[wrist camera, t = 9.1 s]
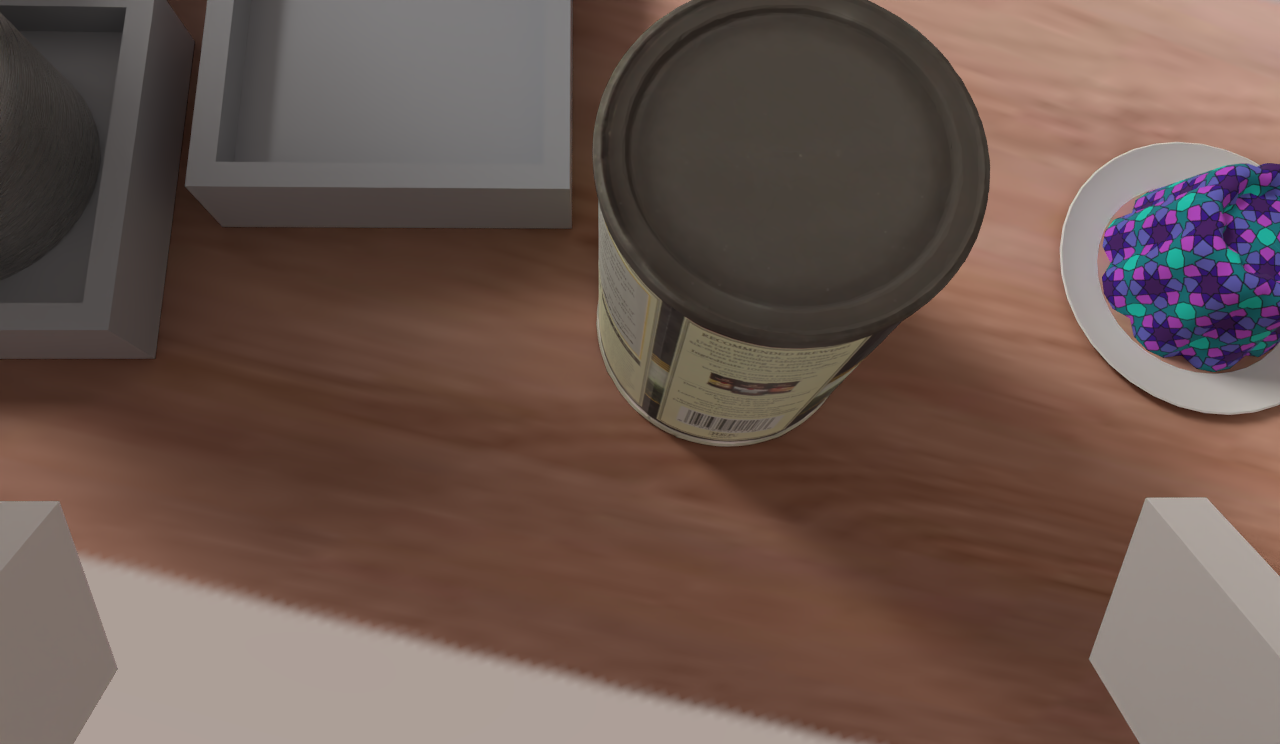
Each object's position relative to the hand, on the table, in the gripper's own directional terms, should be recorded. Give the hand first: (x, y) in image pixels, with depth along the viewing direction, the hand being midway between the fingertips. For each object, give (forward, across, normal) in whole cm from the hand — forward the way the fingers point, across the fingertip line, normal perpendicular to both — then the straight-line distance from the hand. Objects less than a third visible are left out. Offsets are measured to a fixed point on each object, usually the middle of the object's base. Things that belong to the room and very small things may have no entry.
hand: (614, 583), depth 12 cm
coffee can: (+25, +5, -8) cm, 27 cm away
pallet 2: (+32, -8, 0) cm, 33 cm away
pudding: (+27, +25, -7) cm, 37 cm away
